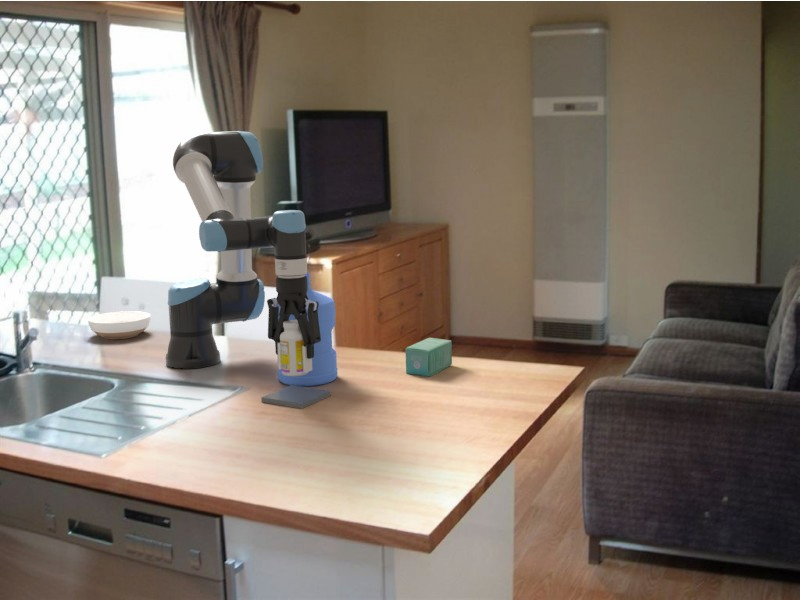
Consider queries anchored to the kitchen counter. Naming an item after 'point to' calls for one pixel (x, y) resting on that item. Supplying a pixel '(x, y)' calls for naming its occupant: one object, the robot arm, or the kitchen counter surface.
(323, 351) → the water jug
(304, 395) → the coaster
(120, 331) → the bowl
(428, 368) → the box
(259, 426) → the kitchen counter surface
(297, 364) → the supplement bottle
